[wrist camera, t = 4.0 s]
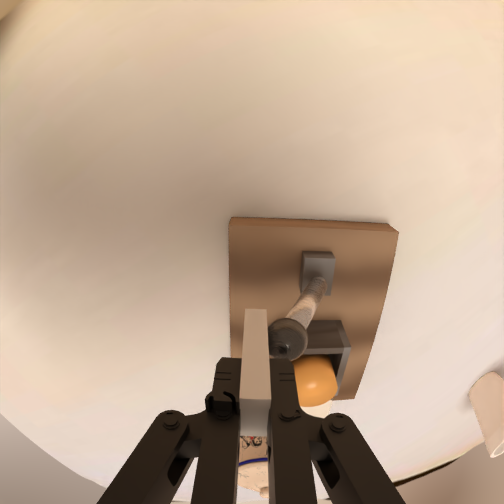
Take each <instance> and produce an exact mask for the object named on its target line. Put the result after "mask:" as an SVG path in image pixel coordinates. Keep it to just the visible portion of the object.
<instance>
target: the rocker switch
mask: <svg viewBox="0 0 504 504" xmlns="http://www.w3.org/2000/svg"><path fill="white" fill-rule="evenodd" d="M332 402H333V398H332V399H331V400H329V401H328V402H326V403H324V404H322V405H319V406H314V407H302V406H300V407H301V409H302V410H303V411H304V412H305V413H307V414H309V415H312V416H315V417H320V418H325V417H326V416H328V414H329V411H330V408H331V405H332Z"/></svg>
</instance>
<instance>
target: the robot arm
mask: <svg viewBox="0 0 504 504" xmlns="http://www.w3.org/2000/svg"><path fill="white" fill-rule="evenodd" d="M205 405H206V410H204V411H203V412H201V413H198V414H194V415H187V416H185V415H184V414H183V413H181V412H179V411H175V410H168V411H164V412H162V413H160V414H159V415H158V416H157V417H156V419H155V420H154V421H153V423H152V424H151V426H150V427H149V429H148V430H147V432H146V433H145V435H144V436H143V438H142V439H141V440H140V442H139V443H138V445H137V446H136V448H135V449H134V451H133V452H132V454H131V455H130V456H129V458H128V459H127V461H126V462H125V464H124V465H123V467H122V468H121V469H120V471H119V472H118V474H117V475H116V477H115V478H114V479H113V481H112V482H111V484H110V485H109V487H108V488H107V490H106V491H105V492H104V494H103V495H102V497H101V498H100V500H99V501H98V502H97V504H170V503H171V501H172V499H173V497H174V496H175V494H176V492H177V490H178V488H179V486H180V484H181V483H182V481H183V479H184V477H185V475H186V473H187V471H188V469H189V467H190V465H191V464H192V462H193V460H194V458H195V457H198V463H197V469H196V475H195V481H194V487H193V493H192V499H191V504H236V498H237V483H238V468H239V453H240V436H267V442H268V444H267V452H266V455H267V456H268V486H269V504H317V497H316V490H315V483H314V476H313V469H312V462H313V464H314V466H315V468H316V471H317V473H318V475H319V477H320V479H321V481H322V483H323V485H324V487H325V489H326V491H327V493H328V495H329V497H330V499H331V501H332V503H333V504H406V503H405V502H404V500H403V499H402V497H401V495H400V494H399V492H398V491H397V489H396V488H395V486H394V485H393V483H392V481H391V480H390V478H389V477H388V475H387V474H386V472H385V471H384V469H383V467H382V466H381V464H380V463H379V461H378V460H377V458H376V456H375V455H374V453H373V452H372V450H371V449H370V447H369V445H368V444H367V442H366V441H365V439H364V438H363V436H362V434H361V433H360V431H359V430H358V428H357V427H356V425H355V423H354V422H353V420H352V419H351V418H350V417H349V416H347V415H345V414H341V413H333V414H330V415H328V416H326V417H325V418H320V417H315V416H312V415H309V414H307V413H305V412H304V411H303V410H302V409H301V407H300V404H299V399H298V392H297V385H296V378H295V371H294V365H293V364H292V363H291V361H290V360H289V359H288V358H269V346H268V329H267V311H266V309H245V320H244V335H243V350H242V358H226V357H222V358H221V359H220V360H219V362H218V363H217V365H216V371H215V377H214V383H213V389H212V391H211V392H210V393H209V394H208V395H207V396H206V398H205ZM311 460H312V462H311Z"/></svg>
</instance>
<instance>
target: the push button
mask: <svg viewBox="0 0 504 504" xmlns="http://www.w3.org/2000/svg"><path fill="white" fill-rule="evenodd" d="M291 363H292V364H293V365H294V371H295V378H296V385H297V392H298V399H299V404H300V406H302V407H314V406H319V405H322V404H324V403H326V402H328V401H329V400H331V399H332V398H333V397H334V396H335V394H336V392H337V389H338V386H337V382H336V378H335V374H334V370H333V367H332V363H331V360H330V358H329V356H328V355H327V354H302V355H301V356H300V357H299V358H297V359H296V360H293V361H291Z"/></svg>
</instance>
